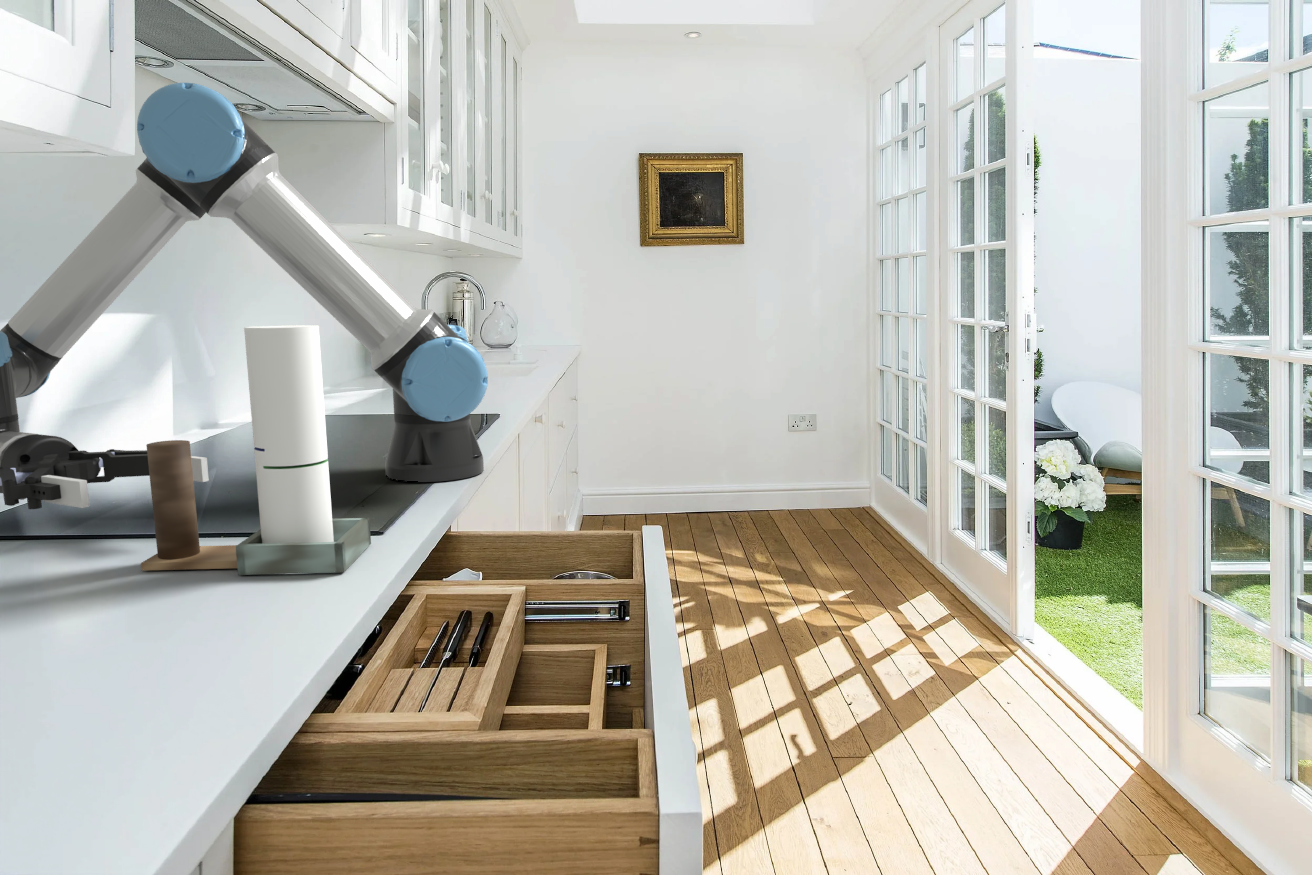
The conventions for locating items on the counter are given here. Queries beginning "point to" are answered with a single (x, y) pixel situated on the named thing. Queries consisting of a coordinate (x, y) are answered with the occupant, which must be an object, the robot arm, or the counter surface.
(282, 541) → the cylindrical container
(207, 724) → the counter surface
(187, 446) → the holder stand
